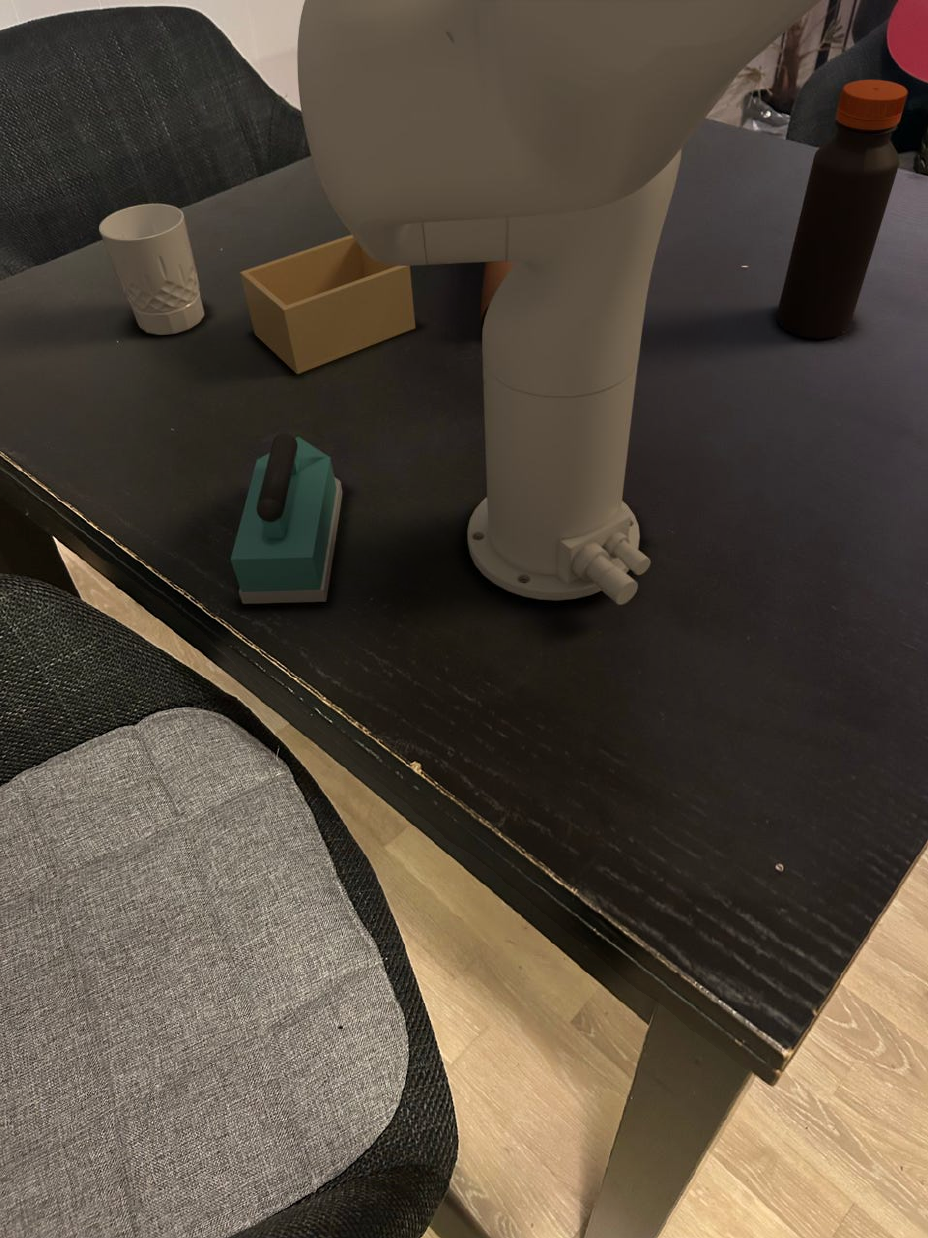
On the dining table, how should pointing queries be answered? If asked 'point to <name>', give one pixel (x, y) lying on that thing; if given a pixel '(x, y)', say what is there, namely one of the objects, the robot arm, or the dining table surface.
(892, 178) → the bottle
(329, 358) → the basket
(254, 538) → the iron
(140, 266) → the white cup
